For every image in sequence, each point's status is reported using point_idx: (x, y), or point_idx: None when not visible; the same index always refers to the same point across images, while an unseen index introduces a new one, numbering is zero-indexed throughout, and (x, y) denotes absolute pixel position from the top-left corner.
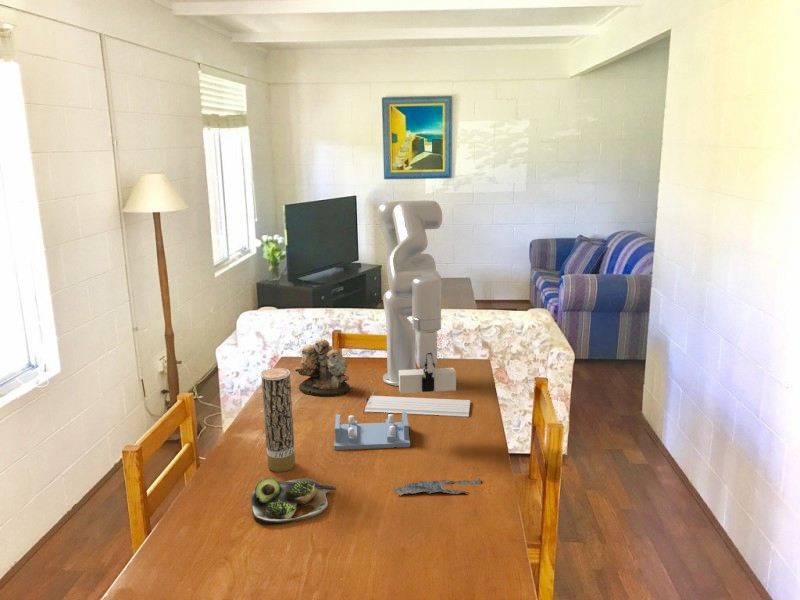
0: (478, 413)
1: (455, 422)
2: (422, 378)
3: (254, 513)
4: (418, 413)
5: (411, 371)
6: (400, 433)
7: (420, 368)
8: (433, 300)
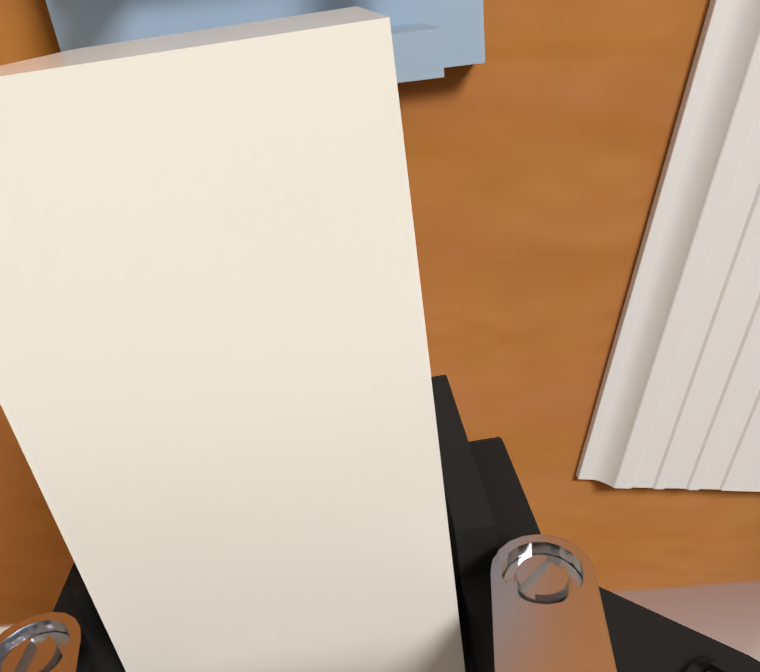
0: (622, 521)
1: (508, 406)
2: (79, 585)
3: None
4: (678, 155)
5: (284, 416)
6: (245, 14)
7: (566, 552)
8: None
